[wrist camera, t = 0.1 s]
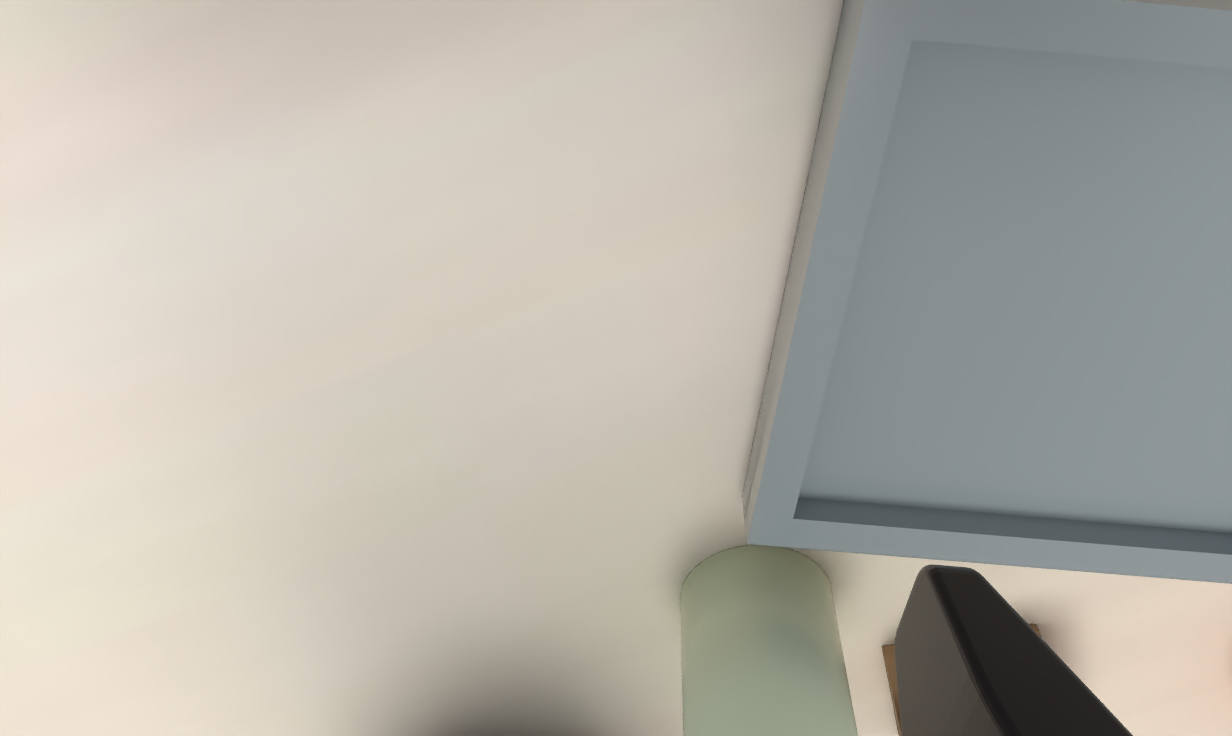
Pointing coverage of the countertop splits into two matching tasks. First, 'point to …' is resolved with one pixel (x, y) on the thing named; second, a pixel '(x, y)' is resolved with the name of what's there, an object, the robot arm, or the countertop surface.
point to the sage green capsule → (762, 648)
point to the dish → (1011, 293)
